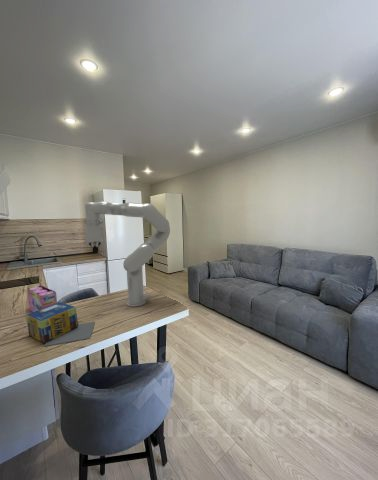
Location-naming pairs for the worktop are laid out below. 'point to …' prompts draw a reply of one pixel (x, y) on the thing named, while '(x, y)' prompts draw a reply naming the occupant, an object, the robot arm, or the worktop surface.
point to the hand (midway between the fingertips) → (95, 253)
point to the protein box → (52, 321)
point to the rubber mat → (74, 334)
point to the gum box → (41, 298)
